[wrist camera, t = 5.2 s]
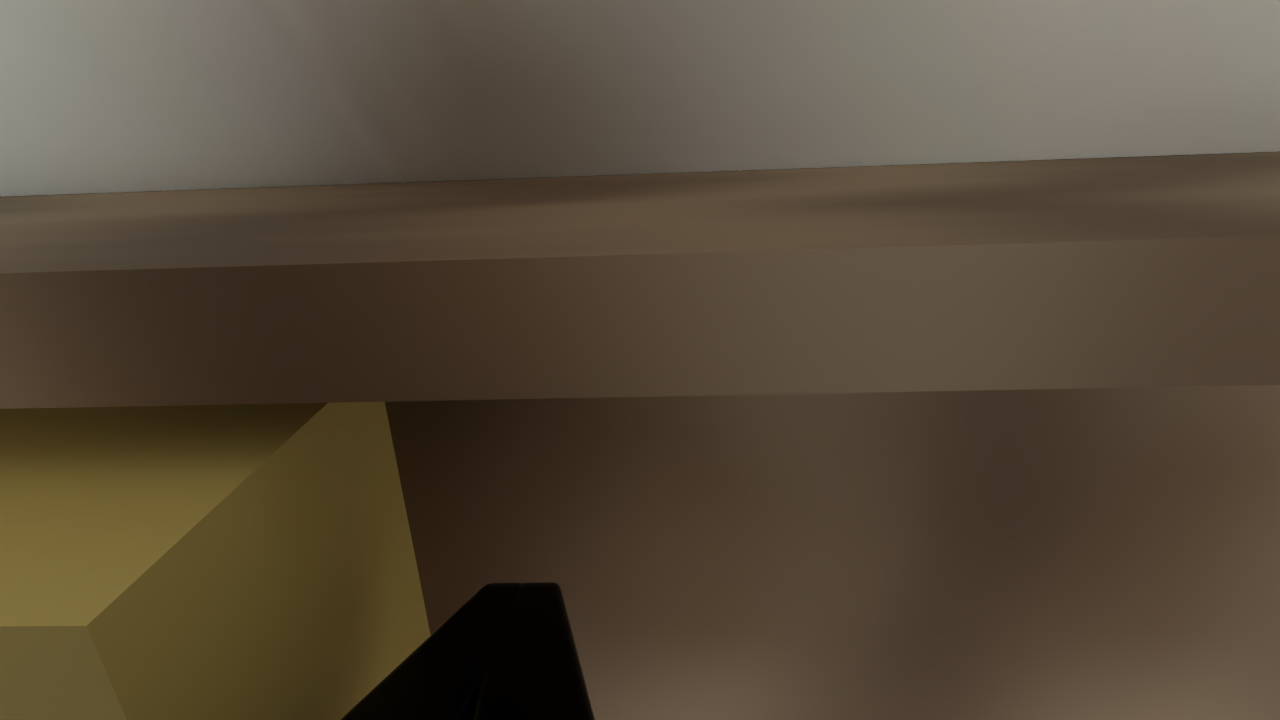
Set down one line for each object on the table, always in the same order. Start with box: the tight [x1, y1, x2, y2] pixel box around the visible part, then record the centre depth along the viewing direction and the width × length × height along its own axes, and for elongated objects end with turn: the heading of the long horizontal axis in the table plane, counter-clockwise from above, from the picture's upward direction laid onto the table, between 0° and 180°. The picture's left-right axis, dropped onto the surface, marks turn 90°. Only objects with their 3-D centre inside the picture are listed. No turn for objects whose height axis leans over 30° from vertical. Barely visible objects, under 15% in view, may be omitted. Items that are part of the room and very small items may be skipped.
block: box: [0, 402, 431, 720], centre depth 7 cm, size 5×5×4 cm
